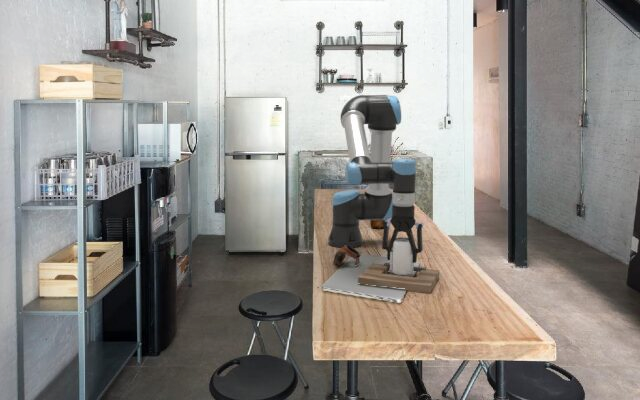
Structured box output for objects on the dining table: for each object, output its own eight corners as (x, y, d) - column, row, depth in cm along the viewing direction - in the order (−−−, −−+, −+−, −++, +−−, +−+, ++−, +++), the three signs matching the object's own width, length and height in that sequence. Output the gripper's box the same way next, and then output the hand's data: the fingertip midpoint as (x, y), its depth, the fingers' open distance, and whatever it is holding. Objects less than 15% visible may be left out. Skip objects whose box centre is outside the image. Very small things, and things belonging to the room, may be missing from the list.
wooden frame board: (372, 270, 193) (372, 263, 193) (439, 277, 184) (439, 270, 184) (357, 284, 176) (358, 277, 176) (430, 293, 168) (430, 285, 167)
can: (399, 269, 187) (400, 236, 185) (415, 273, 183) (416, 239, 181) (388, 273, 183) (389, 239, 181) (403, 277, 178) (404, 242, 176)
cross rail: (385, 271, 192) (385, 262, 191) (426, 275, 186) (426, 267, 186) (383, 272, 190) (384, 264, 189) (425, 277, 185) (425, 268, 184)
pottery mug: (337, 261, 207) (348, 243, 206) (355, 275, 203) (366, 257, 201) (323, 260, 196) (334, 241, 195) (341, 275, 192) (353, 256, 191)
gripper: (373, 204, 179) (371, 270, 183) (429, 208, 172) (427, 276, 176) (378, 201, 186) (377, 264, 190) (433, 204, 179) (431, 270, 183)
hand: (401, 270), depth 183 cm, fingers closed on can, 6 cm apart
